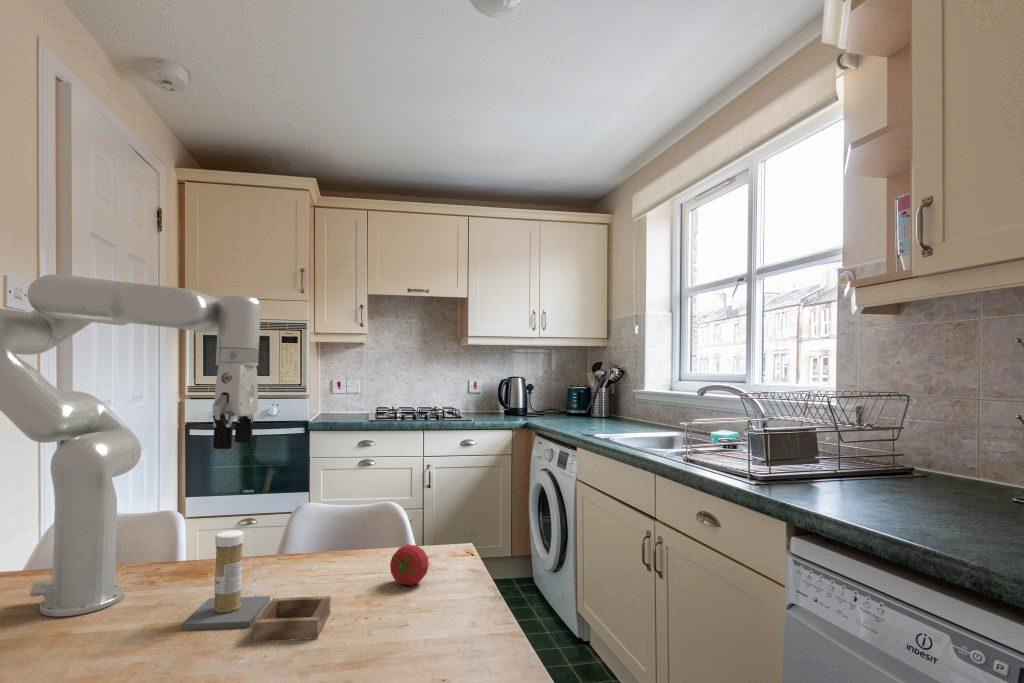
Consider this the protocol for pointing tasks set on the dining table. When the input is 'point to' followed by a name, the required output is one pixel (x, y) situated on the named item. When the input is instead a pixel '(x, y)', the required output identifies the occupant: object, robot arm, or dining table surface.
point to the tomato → (409, 565)
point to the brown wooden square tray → (292, 628)
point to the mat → (226, 615)
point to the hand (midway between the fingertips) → (233, 445)
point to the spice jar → (228, 571)
